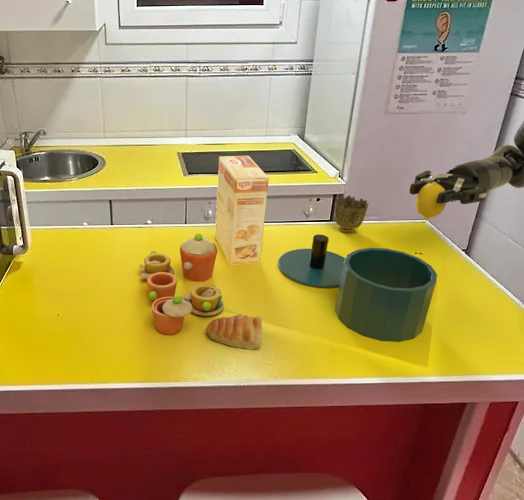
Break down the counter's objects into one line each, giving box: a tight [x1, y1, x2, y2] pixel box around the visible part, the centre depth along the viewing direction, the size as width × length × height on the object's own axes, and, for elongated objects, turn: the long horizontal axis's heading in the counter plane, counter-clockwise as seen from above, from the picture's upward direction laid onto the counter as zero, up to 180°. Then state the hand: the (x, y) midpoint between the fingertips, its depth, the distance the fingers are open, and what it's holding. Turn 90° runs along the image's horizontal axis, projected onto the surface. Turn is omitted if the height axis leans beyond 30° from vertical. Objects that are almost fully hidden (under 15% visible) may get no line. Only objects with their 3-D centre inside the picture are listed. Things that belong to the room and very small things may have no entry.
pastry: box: [206, 314, 263, 350], centre depth 87 cm, size 9×7×4 cm
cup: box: [334, 195, 369, 235], centre depth 122 cm, size 8×7×8 cm
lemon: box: [415, 182, 447, 220], centre depth 106 cm, size 6×6×8 cm
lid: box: [277, 234, 346, 289], centre depth 106 cm, size 16×16×8 cm
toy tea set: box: [138, 232, 225, 335], centre depth 96 cm, size 26×16×10 cm, turn 7°
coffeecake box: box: [214, 155, 270, 266], centre depth 111 cm, size 15×7×20 cm, turn 8°
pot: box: [334, 247, 438, 343], centre depth 90 cm, size 15×15×10 cm
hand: (425, 194), depth 103 cm, fingers closed on lemon, 5 cm apart
